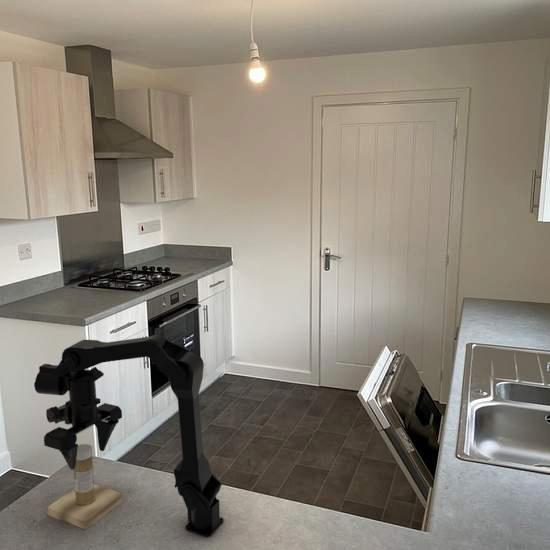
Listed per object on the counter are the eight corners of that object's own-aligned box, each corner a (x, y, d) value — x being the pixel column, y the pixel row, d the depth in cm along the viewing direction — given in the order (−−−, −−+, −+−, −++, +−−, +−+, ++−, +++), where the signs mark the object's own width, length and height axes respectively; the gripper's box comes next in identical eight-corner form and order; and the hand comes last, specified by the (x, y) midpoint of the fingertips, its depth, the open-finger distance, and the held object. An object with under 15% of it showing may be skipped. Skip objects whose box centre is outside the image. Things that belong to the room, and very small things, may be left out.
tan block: (122, 501, 132) (122, 493, 131) (85, 529, 121) (85, 521, 121) (86, 488, 137) (85, 481, 137) (47, 515, 126) (46, 507, 126)
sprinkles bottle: (78, 495, 131) (74, 443, 128) (97, 494, 131) (94, 442, 129) (73, 506, 126) (69, 453, 124) (93, 505, 127) (89, 452, 124)
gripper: (87, 377, 135) (91, 435, 138) (23, 405, 119) (29, 470, 121) (121, 384, 130) (125, 444, 133) (60, 414, 114) (65, 482, 116)
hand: (87, 459), depth 126 cm, fingers open, 9 cm apart
